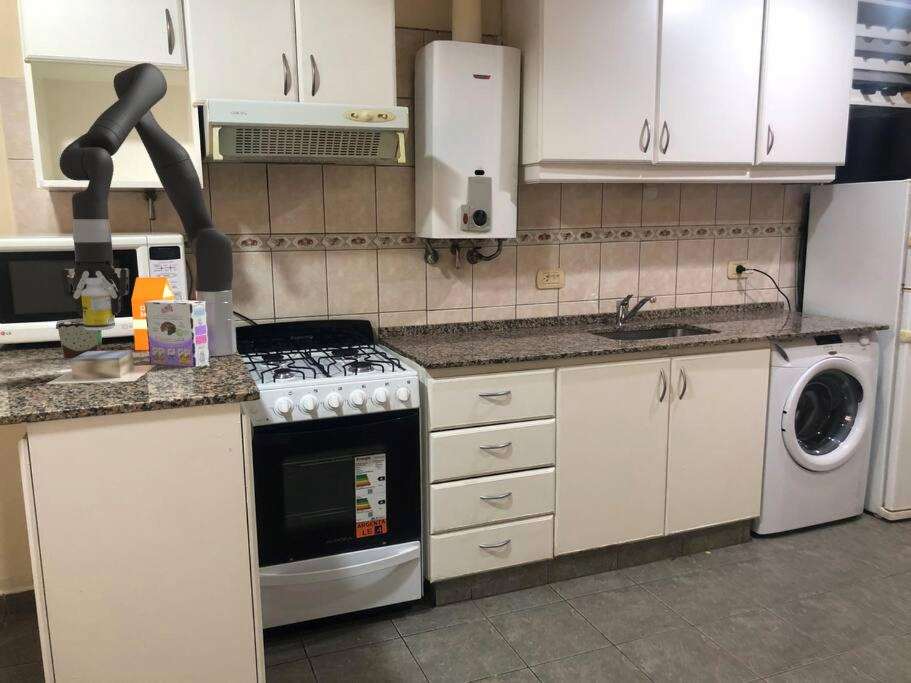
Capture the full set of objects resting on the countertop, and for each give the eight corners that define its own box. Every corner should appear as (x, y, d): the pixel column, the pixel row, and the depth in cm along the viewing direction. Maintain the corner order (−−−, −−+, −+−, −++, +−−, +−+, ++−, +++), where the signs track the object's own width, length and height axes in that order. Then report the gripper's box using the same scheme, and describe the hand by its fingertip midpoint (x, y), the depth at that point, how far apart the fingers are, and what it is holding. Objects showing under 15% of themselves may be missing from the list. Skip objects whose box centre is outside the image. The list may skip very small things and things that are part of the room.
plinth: (133, 368, 168) (132, 350, 168) (120, 377, 159) (119, 357, 158) (88, 370, 167) (87, 351, 166) (72, 379, 157) (70, 359, 156)
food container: (116, 355, 191) (113, 318, 189) (103, 360, 185) (100, 321, 183) (73, 354, 192) (69, 318, 190) (58, 359, 186) (54, 321, 184)
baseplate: (156, 369, 173) (156, 365, 173) (134, 385, 155) (134, 381, 155) (77, 371, 170) (77, 367, 170) (46, 388, 153) (45, 383, 153)
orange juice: (166, 350, 199) (161, 278, 196) (134, 350, 199) (129, 278, 196) (177, 345, 207) (172, 276, 204) (147, 345, 207) (142, 276, 204)
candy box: (210, 366, 176) (207, 300, 174) (195, 371, 171) (190, 302, 168) (165, 363, 181) (161, 298, 178) (148, 367, 175) (143, 300, 172)
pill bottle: (91, 326, 164) (87, 276, 162) (120, 326, 165) (116, 276, 163) (78, 331, 158) (74, 278, 156) (109, 330, 158) (105, 278, 156)
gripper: (132, 239, 163) (137, 312, 165) (65, 239, 161) (71, 313, 163) (121, 240, 155) (127, 316, 158) (51, 240, 153) (58, 317, 156)
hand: (98, 314), depth 161 cm, fingers closed on pill bottle, 6 cm apart
